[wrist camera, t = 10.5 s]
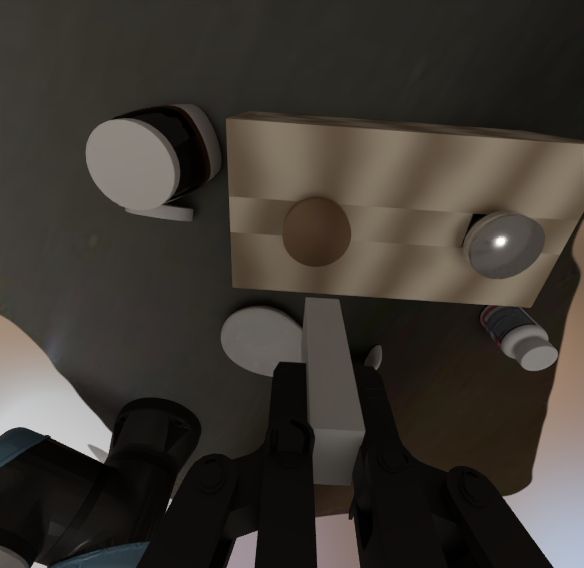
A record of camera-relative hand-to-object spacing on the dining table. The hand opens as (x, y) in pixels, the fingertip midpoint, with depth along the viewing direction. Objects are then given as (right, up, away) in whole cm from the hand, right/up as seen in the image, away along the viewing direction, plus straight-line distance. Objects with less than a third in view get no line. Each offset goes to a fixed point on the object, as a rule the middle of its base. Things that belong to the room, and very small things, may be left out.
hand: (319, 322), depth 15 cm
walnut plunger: (+1, +12, +20) cm, 23 cm away
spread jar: (-14, +15, +21) cm, 29 cm away
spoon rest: (0, -6, +33) cm, 34 cm away
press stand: (+8, +13, +22) cm, 26 cm away
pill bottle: (+28, -2, +30) cm, 41 cm away
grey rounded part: (+15, +11, +20) cm, 27 cm away
